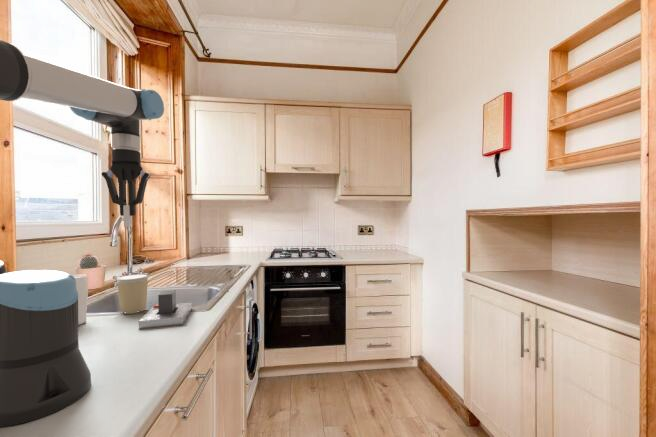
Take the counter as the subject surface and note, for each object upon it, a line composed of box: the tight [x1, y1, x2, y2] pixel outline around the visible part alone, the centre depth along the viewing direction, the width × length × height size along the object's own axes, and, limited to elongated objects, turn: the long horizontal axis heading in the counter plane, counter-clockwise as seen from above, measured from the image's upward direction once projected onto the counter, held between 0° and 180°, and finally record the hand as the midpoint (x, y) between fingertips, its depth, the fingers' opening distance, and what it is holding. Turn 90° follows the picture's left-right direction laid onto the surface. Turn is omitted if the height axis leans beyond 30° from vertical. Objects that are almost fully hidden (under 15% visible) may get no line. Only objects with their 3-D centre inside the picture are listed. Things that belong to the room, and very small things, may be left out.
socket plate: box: [138, 302, 193, 330], centre depth 100 cm, size 16×12×3 cm
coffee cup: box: [116, 274, 149, 315], centre depth 109 cm, size 9×9×12 cm
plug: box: [157, 290, 177, 315], centre depth 100 cm, size 5×4×8 cm
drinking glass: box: [71, 273, 89, 326], centre depth 96 cm, size 7×7×15 cm
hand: (128, 226), depth 95 cm, fingers closed
